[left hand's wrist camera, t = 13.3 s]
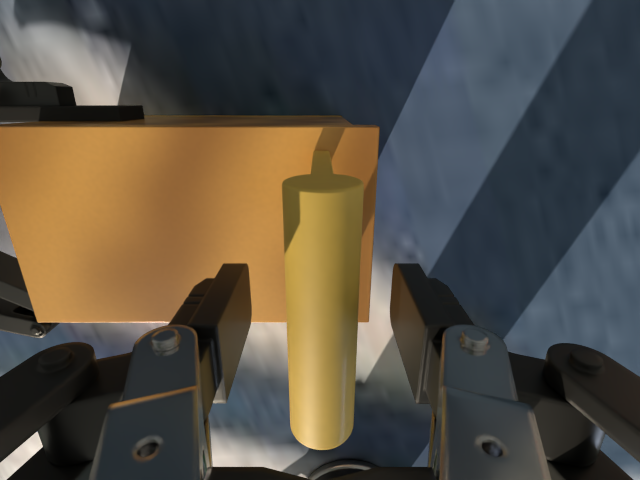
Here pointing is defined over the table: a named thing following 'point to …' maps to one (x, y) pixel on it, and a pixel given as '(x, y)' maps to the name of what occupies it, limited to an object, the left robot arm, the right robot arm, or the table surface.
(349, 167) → the lid
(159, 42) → the table surface
